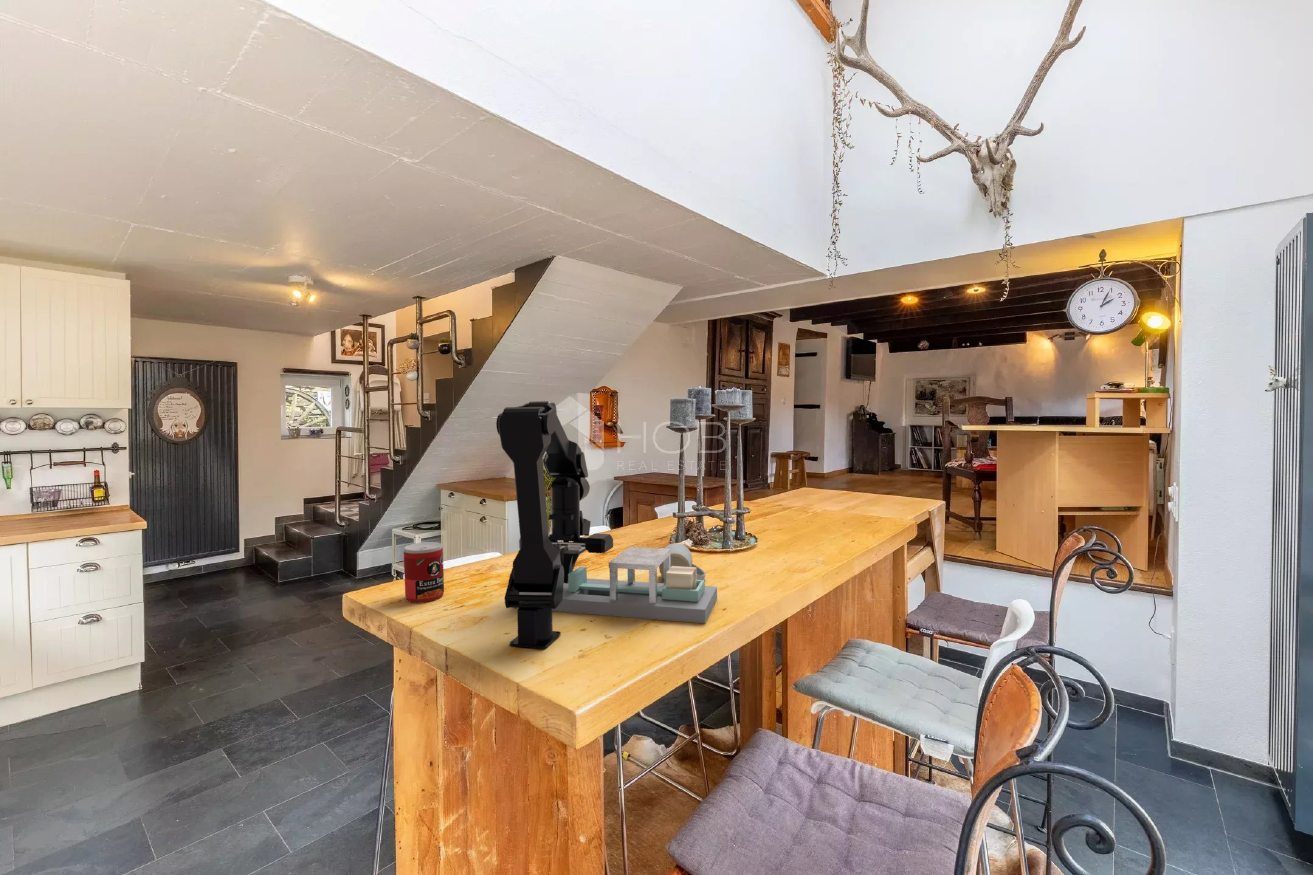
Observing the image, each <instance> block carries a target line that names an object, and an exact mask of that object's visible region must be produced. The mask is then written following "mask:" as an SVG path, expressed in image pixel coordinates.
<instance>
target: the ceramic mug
mask: <svg viewBox="0 0 1313 875" xmlns="http://www.w3.org/2000/svg"><path fill="white" fill-rule="evenodd" d="M663 549H671V554H670V560H671V567H672V566H679V567H697V580H705V578H706V575H707V574H706V572H705V571H704V570H703V569H702V568H701V567H699V566H697V565H696V564H694V563H693V555H692V553H691V550H690V549H689V548H688V547H687V546H685V545H684V544H682V543H679V542H674V543H673V542H672V543H670V544H667V545H666V546H665V547H664V548H663ZM658 570H659V573H660V576H661V577H662V578H663V579H664V563H663V562H662V563H661V564H660V565H659V566H658Z"/></svg>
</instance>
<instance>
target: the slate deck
mask: <svg viewBox="0 0 1313 875" xmlns="http://www.w3.org/2000/svg"><path fill="white" fill-rule="evenodd" d="M587 584H601V585H610V579H602V578H601V579H599V578H587ZM618 586H632V587H647V588H649V581H648V582H647V581H635V583H634V584H628V580H618ZM663 587H664V582H663V583H662V582H657V588H663ZM519 595H552V593H535V592H519ZM717 600H718V587H717V586H713V585H712V586H711V585H710V586H709V585H705V591H704V593H703V594H702V596H701V598H700V600H699V601H698V602H696V601H682V600H668V599H662V595H658V594H657V603H656V604H649V594H644V593H629V592H618V600H617V601H610V591H600V590H586V589H579V590H578V591H576V592H569V589H568V583H564V585H563V599H562V601H561V603H560V604H559V605H558V606H557V608H556V609H552V612H560V613H573V614H584V615H595V616H597V615H598V616H609V617H610V616H611V617H621V618H634V619H635V618H636V619H646V620H647V619H648V620H659V621H669V622H671V621H673V622H682V623H694V624H696V623H698V624H706V623H707V621H708V619H709V616H710V615H711V612H712V611H711V610H713V609H714V606H715V604H716V602H717ZM712 608H713V609H712ZM709 614H710V615H709Z"/></svg>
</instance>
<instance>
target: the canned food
mask: <svg viewBox="0 0 1313 875" xmlns="http://www.w3.org/2000/svg"><path fill="white" fill-rule="evenodd" d="M403 569H404V571H403V572H404V594H405V595H404V596H405V599H406V601H407V600H408V601H407V602H409V601H410V603H412V602H424V603H430V602H429V601H431V602H433V601H432V600H434V601H437V600H440V599H441V598H442V597H444V592H445V579H444V578H445V577H444V575H445V574H444V570H445V569H444V546H443V543H441V542H437V541H424V542H417V543H412V544H408V545H406V546H404V548H403ZM440 597H441V598H440Z"/></svg>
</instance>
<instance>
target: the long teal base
mask: <svg viewBox="0 0 1313 875" xmlns="http://www.w3.org/2000/svg"><path fill="white" fill-rule="evenodd" d="M587 574H588V572H587V566H578V567H577V568H574V569H573V571H572V572H571V573H569V574H568V589H569V592H576V591H578V590H579V589H586V590H600V591H610V585H601V584H587V579H588V578H587V577H588V576H587ZM705 583H706V582H705V579H704V580H697V588H696V590H689V589H674V588H666V584H665V586H664V587H663V588H657V594H658V595H662V599H668V600H682V601H696V602H698V601H699V600H700V598H701V596H702V594H703V593H704V591H705V586H706V584H705ZM618 592H629V593H644V594H649V588H647V587H632V586H618Z"/></svg>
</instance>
